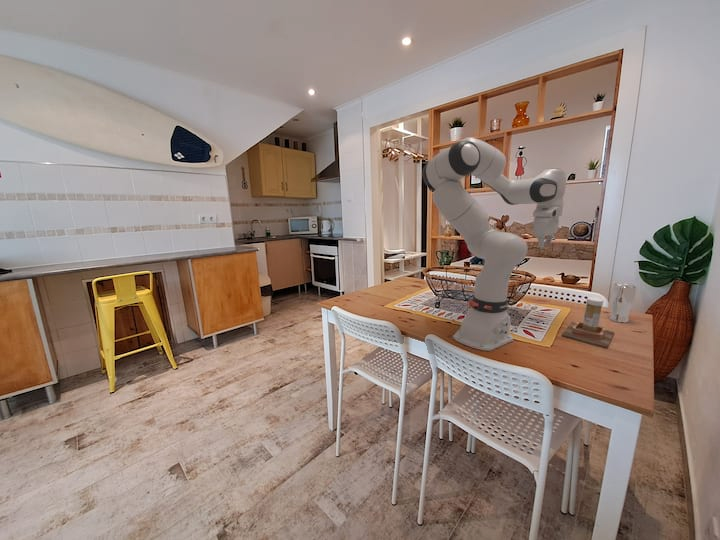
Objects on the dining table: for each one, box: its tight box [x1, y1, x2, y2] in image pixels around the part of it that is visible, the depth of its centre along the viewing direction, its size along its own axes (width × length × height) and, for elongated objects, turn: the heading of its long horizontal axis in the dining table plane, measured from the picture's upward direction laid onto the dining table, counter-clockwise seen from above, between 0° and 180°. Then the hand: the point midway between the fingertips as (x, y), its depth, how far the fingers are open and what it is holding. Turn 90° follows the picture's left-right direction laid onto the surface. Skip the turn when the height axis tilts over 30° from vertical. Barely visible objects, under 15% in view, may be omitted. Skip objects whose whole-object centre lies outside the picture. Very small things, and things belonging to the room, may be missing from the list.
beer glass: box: [608, 282, 637, 324], centre depth 116 cm, size 7×7×15 cm
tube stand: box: [561, 321, 615, 349], centre depth 104 cm, size 16×13×3 cm
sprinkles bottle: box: [582, 296, 604, 333], centre depth 103 cm, size 5×5×13 cm
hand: (544, 246), depth 115 cm, fingers open, 8 cm apart
